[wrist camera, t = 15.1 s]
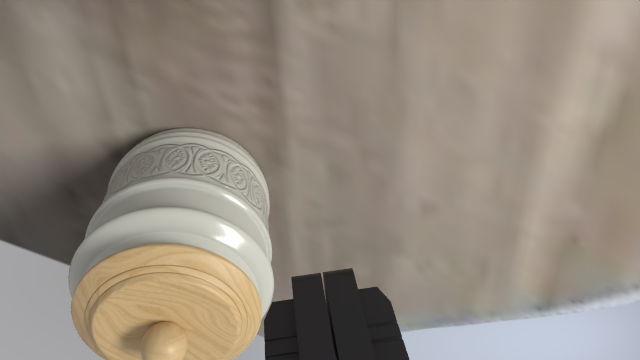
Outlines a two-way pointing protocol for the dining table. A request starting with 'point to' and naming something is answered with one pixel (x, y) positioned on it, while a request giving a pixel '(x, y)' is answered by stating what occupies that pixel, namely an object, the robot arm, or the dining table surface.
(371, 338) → the robot arm
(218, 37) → the dining table surface
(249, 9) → the dining table surface
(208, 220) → the jar
